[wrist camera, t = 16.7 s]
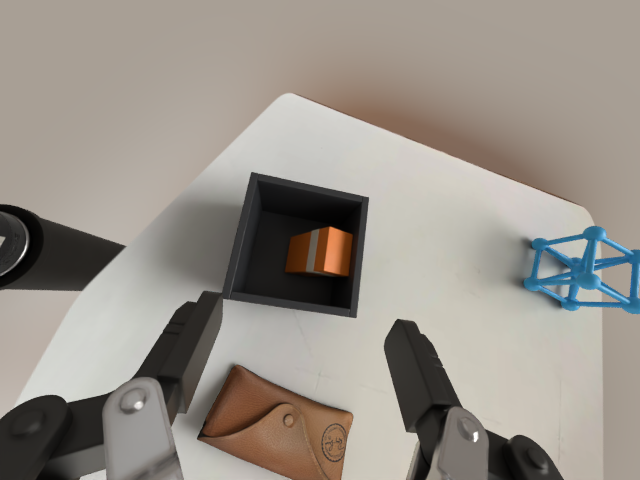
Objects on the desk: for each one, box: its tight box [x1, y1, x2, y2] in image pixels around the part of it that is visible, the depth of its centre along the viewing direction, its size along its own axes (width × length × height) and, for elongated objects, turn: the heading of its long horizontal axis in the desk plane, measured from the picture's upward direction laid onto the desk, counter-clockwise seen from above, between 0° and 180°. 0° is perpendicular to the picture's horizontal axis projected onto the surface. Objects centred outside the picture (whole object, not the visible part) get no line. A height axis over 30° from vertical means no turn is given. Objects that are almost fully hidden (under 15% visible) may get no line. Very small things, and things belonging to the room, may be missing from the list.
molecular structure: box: [523, 226, 640, 314], centre depth 39 cm, size 10×10×10 cm
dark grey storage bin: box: [222, 172, 369, 318], centre depth 31 cm, size 14×14×11 cm
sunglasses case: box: [197, 365, 353, 480], centre depth 30 cm, size 18×7×7 cm
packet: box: [285, 226, 353, 277], centre depth 31 cm, size 4×5×9 cm
